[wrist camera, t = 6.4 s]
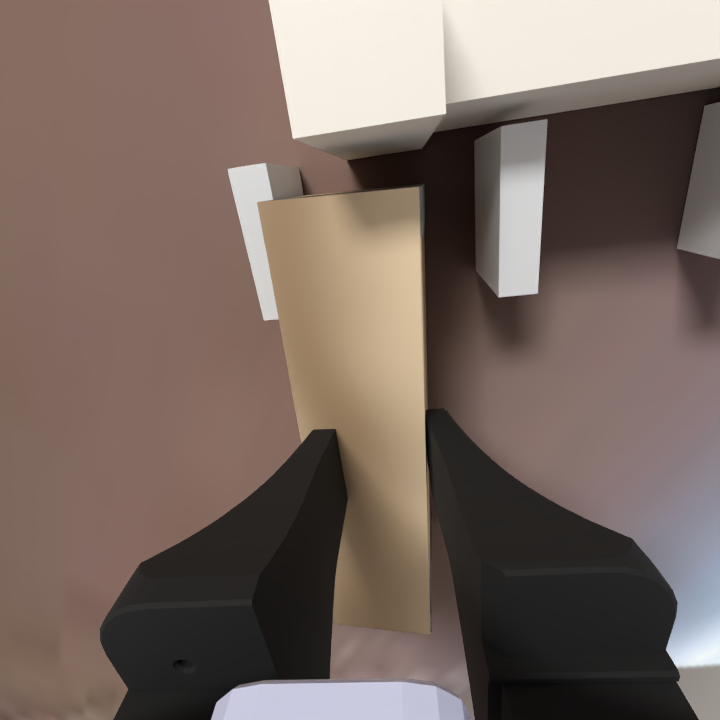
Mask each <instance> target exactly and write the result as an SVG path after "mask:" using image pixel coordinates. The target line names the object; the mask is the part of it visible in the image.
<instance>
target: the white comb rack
mask: <svg viewBox="0 0 720 720" xmlns="http://www.w3.org/2000/svg"><path fill="white" fill-rule="evenodd" d="M269 4H270V10H271V15H272V21H273V27H274V33H275V38H276V44H277V50H278V55H279V61H280V67H281V73H282V78H283V84H284V90H285V95H286V101H287V107H288V113H289V118H290V124H291V130H292V136H293V139H295V140H297V141H300V142H302V143H305V144H307V145H310V146H312V147H315V148H317V149H320V150H322V151H325V152H327V153H330V154H332V155H335V156H337V157H340V158H342V159H345V160H352V159H358V158H365V157H371V156H378V155H384V154H391V153H398V152H404V151H411V150H417V149H422V148H423V146H424V145H425V144H426V142H427V141H428V139H429V138H430V136H431V135H432V133H433V132H439V131H445V130H451V129H458V128H464V127H470V126H477V125H483V124H489V123H496V122H502V121H508V120H515V119H521V118H527V117H534V116H540V115H546V114H553V113H559V112H565V111H572V110H578V109H584V108H591V107H597V106H603V105H610V104H616V103H622V102H629V101H635V100H641V99H648V98H654V97H660V96H667V95H673V94H679V93H686V92H692V91H698V90H705V89H711V88H717V87H720V0H269ZM547 120H548V119H544V120H538V121H531V122H525V123H519V124H512V125H506V126H501V127H499V128H497V129H495V130H493V131H491V132H490V133H488V134H486V135H484V136H482V137H480V138H479V139H477V140H475V141H474V162H475V265H476V272H477V273H478V274H479V275H480V276H481V277H482V279H483V280H484V281H485V282H486V283H487V284H488V286H489V287H490V288H491V289H492V290H493V291H494V293H495V294H496V295H497V296H498V297H508V296H518V295H528V294H538V281H539V263H540V245H541V227H542V209H543V191H544V173H545V156H546V138H547ZM228 173H229V178H230V182H231V186H232V190H233V194H234V198H235V202H236V207H237V211H238V215H239V219H240V223H241V227H242V231H243V236H244V240H245V244H246V248H247V252H248V256H249V260H250V265H251V269H252V273H253V277H254V281H255V285H256V289H257V294H258V298H259V302H260V306H261V310H262V314H263V319H264V320H274V319H279V318H278V313H277V307H276V302H275V296H274V291H273V285H272V280H271V274H270V269H269V263H268V258H267V252H266V247H265V243H264V238H263V232H262V227H261V221H260V216H259V210H258V205H257V202H261V201H269V200H276V199H283V198H291V197H298V196H304V195H303V189H302V183H301V177H300V172H299V168H298V167H291V166H284V165H276V164H269V163H263V164H256V165H250V166H243V167H237V168H231V169H228ZM677 249H680V250H684V251H689V252H693V253H697V254H701V255H705V256H709V257H713V258H717V259H720V102H717V103H713V104H709V105H705V106H704V110H703V115H702V121H701V126H700V131H699V136H698V141H697V146H696V152H695V157H694V162H693V167H692V172H691V177H690V182H689V188H688V193H687V198H686V203H685V208H684V213H683V219H682V224H681V229H680V234H679V239H678V244H677Z"/></svg>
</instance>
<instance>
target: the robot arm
mask: <svg viewBox="0 0 720 720" xmlns="http://www.w3.org/2000/svg"><path fill="white" fill-rule="evenodd" d="M425 417H426V444H427V462H428V469H429V477H430V483H431V490H432V495H433V499H434V502H435V506H436V510H437V514H438V518H439V522H440V525H441V529H442V533H443V537H444V541H445V545H446V548H447V552H448V556H449V561H450V565H451V570H452V575H453V581H454V588H455V594H456V600H457V606H458V612H459V618H460V625H461V631H462V637H463V644H464V650H465V656H466V663H467V669H468V676H469V682H470V689H471V696H472V702H473V709H474V716H475V720H699V719H698V718H697V716H696V714H695V713H694V711H693V710H692V708H691V706H690V704H689V703H688V701H687V699H686V698H685V696H684V694H683V693H682V691H681V689H680V687H679V686H678V684H677V682H676V681H679V678H680V675H679V672H678V669H677V668H676V666H675V664H674V663H673V661H672V659H671V658H670V656H669V655H668V653H667V651H666V647H667V644H668V640H669V637H670V634H671V631H672V628H673V624H674V621H675V618H676V613H677V600H676V598H675V595H674V592H673V590H672V589H671V587H670V586H669V584H668V583H667V582H666V580H665V579H664V578H663V576H662V575H661V573H660V572H659V571H658V569H657V568H656V567H655V565H654V564H653V563H652V562H651V560H650V559H649V558H648V557H647V556H646V554H645V553H644V552H643V551H642V550H641V549H640V548H639V547H638V545H637V544H636V543H635V542H634V540H633V539H632V538H629V537H627V536H624V535H622V534H620V533H617V532H615V531H613V530H610V529H608V528H606V527H603V526H601V525H599V524H596V523H594V522H591V521H589V520H587V519H585V518H583V517H581V516H579V515H577V514H575V513H573V512H571V511H569V510H567V509H565V508H563V507H561V506H559V505H558V504H556V503H554V502H552V501H550V500H548V499H547V498H545V497H543V496H542V495H540V494H539V493H537V492H535V491H534V490H532V489H530V488H529V487H527V486H526V485H524V484H523V483H521V482H520V481H518V480H517V479H516V478H514V477H513V476H511V475H510V474H509V473H507V472H506V471H505V470H504V469H502V468H501V467H500V466H499V465H498V464H496V463H495V462H494V461H493V460H492V459H491V458H490V457H488V456H487V455H486V454H485V453H484V452H483V451H482V450H481V449H480V448H479V447H478V446H477V445H476V444H475V443H474V442H473V441H472V440H471V439H470V438H469V437H468V436H467V435H466V434H465V433H464V432H463V430H462V429H461V428H460V427H459V426H458V425H457V424H456V422H455V421H454V420H453V419H452V417H451V416H450V415H449V413H448V412H447V411H446V410H445V409H444V408H442V409H430V410H426V415H425ZM347 501H348V495H347V490H346V484H345V479H344V473H343V468H342V462H341V457H340V451H339V446H338V440H337V435H336V429H313V430H312V431H311V432H310V434H309V435H308V436H307V437H306V439H305V440H304V441H303V442H302V444H301V445H300V446H299V447H298V448H297V449H296V451H295V452H294V453H293V454H292V455H291V456H290V458H289V459H288V460H287V461H286V462H285V463H284V464H283V465H282V466H281V467H280V468H279V469H278V470H277V471H276V472H275V474H274V475H272V476H271V477H270V478H269V479H268V480H267V481H266V482H265V483H264V484H263V485H262V486H261V487H259V488H258V489H257V490H256V491H255V492H254V493H252V494H251V495H250V496H249V497H248V498H246V499H245V500H244V501H242V502H241V503H240V504H238V505H237V506H236V507H234V508H233V509H231V510H230V511H229V512H227V513H226V514H225V515H223V516H222V517H221V518H219V519H218V520H216V521H215V522H213V523H212V524H210V525H208V526H207V527H205V528H204V529H202V530H200V531H199V532H197V533H196V534H194V535H192V536H191V537H189V538H187V539H185V540H184V541H182V542H180V543H178V544H176V545H175V546H173V547H171V548H169V549H167V550H165V551H163V552H161V553H159V554H157V555H156V556H154V557H152V558H150V559H148V560H146V561H144V562H142V563H140V565H139V566H138V568H137V569H136V571H135V572H134V574H133V575H132V577H131V578H130V580H129V581H128V583H127V585H126V586H125V588H124V589H123V591H122V592H121V594H120V596H119V597H118V599H117V600H116V602H115V604H114V605H113V607H112V608H111V610H110V611H109V613H108V615H107V616H106V618H105V620H104V622H103V624H102V626H101V628H100V641H101V644H102V646H103V649H104V651H105V653H106V655H107V657H108V658H109V660H110V661H111V663H112V664H113V666H114V667H115V669H116V671H117V672H118V674H119V675H120V677H121V678H122V680H123V681H124V683H125V684H126V686H127V688H128V689H129V690H128V692H127V694H126V696H125V698H124V700H123V702H122V704H121V706H120V708H119V710H118V712H117V714H116V716H115V718H114V720H471V717H470V715H469V713H468V711H467V709H466V708H465V706H464V704H463V702H462V700H461V699H460V698H459V697H458V696H457V695H455V694H454V693H452V692H450V691H448V690H446V689H445V688H443V687H441V686H439V685H437V684H435V683H433V682H429V681H421V680H414V679H406V678H369V679H330V657H331V638H332V620H333V604H334V590H335V576H336V568H337V561H338V555H339V549H340V543H341V537H342V531H343V525H344V520H345V513H346V507H347Z"/></svg>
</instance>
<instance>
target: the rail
mask: <svg viewBox="0 0 720 720" xmlns="http://www.w3.org/2000/svg"><path fill="white" fill-rule="evenodd" d="M257 205H258V210H259V216H260V221H261V227H262V232H263V238H264V243H265V247H266V252H267V258H268V263H269V269H270V274H271V280H272V285H273V291H274V296H275V302H276V307H277V313H278V318H279V323H280V329H281V334H282V340H283V345H284V351H285V356H286V362H287V367H288V373H289V378H290V384H291V389H292V395H293V400H294V405H295V411H296V416H297V422H298V427H299V433H300V438H301V444H302V442H303V441H304V440H305V439H306V437H307V436H308V435H309V434H310V432H311V431H312V430H313V429H336V435H337V440H338V446H339V451H340V457H341V462H342V468H343V473H344V479H345V484H346V490H347V495H348V501H347V507H346V513H345V520H344V525H343V531H342V537H341V543H340V549H339V555H338V561H337V568H336V576H335V590H334V604H333V619H334V624H340V625H348V626H357V627H366V628H374V629H383V630H392V631H400V632H409V633H418V634H426V635H430V632H432V553H431V512H430V483H429V469H428V462H427V444H426V417H425V415H426V410H428V388H427V340H426V292H425V245H424V223H425V184H416V185H406V186H395V187H385V188H374V189H364V190H354V191H343V192H333V193H323V194H313V195H305V196H298V197H291V198H283V199H276V200H269V201H261V202H257Z"/></svg>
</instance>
